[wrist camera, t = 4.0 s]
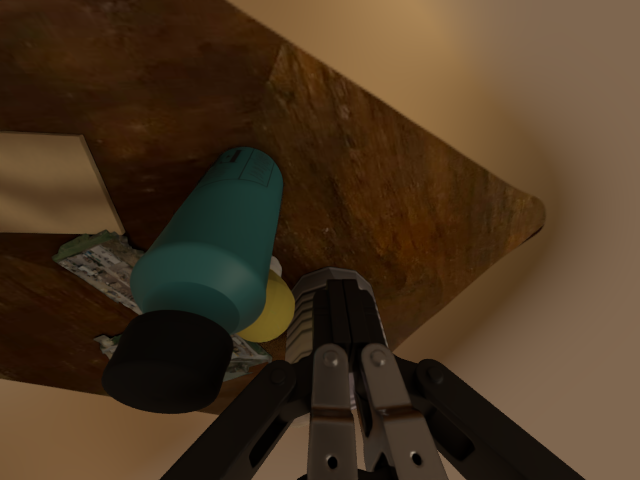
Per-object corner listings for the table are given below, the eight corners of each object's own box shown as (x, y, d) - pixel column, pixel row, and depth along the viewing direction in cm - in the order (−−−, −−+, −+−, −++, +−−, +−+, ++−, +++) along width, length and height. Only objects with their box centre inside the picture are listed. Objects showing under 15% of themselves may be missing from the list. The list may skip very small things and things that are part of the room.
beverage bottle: (251, 123, 23) (115, 305, 6) (300, 181, 26) (292, 400, 10) (201, 167, 25) (1, 392, 8) (252, 216, 28) (178, 446, 12)
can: (273, 283, 34) (259, 377, 24) (358, 253, 31) (381, 344, 22) (309, 332, 40) (311, 423, 30) (382, 310, 38) (409, 401, 28)
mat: (-99, 125, 22) (-108, 127, 21) (82, 134, 23) (78, 136, 22) (-16, 228, 27) (-22, 231, 27) (125, 231, 28) (122, 235, 28)
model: (117, 216, 27) (107, 225, 25) (272, 357, 43) (271, 366, 42) (-18, 286, 31) (-32, 296, 30) (169, 389, 48) (166, 398, 46)
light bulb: (308, 264, 32) (309, 337, 24) (269, 290, 34) (257, 364, 26) (268, 229, 29) (254, 299, 21) (228, 260, 31) (201, 334, 23)
